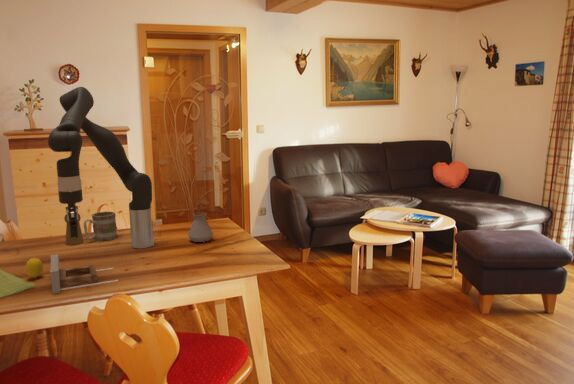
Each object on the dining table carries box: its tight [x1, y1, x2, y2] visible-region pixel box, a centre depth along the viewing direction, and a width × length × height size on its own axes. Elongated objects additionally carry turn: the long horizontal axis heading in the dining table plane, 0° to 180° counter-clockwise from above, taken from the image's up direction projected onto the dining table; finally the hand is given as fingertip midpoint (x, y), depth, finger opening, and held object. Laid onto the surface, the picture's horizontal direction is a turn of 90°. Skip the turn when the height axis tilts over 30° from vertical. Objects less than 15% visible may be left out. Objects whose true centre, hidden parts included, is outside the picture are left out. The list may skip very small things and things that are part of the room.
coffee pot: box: [187, 202, 214, 243], centre depth 224 cm, size 21×12×15 cm, turn 12°
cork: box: [63, 213, 85, 247], centre depth 168 cm, size 6×6×11 cm
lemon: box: [25, 257, 44, 279], centre depth 173 cm, size 6×6×8 cm
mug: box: [83, 211, 118, 243], centre depth 222 cm, size 16×11×12 cm
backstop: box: [49, 253, 119, 295], centre depth 171 cm, size 21×20×8 cm
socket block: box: [59, 264, 99, 289], centre depth 171 cm, size 12×12×3 cm
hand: (74, 235), depth 168 cm, fingers closed on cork, 4 cm apart
